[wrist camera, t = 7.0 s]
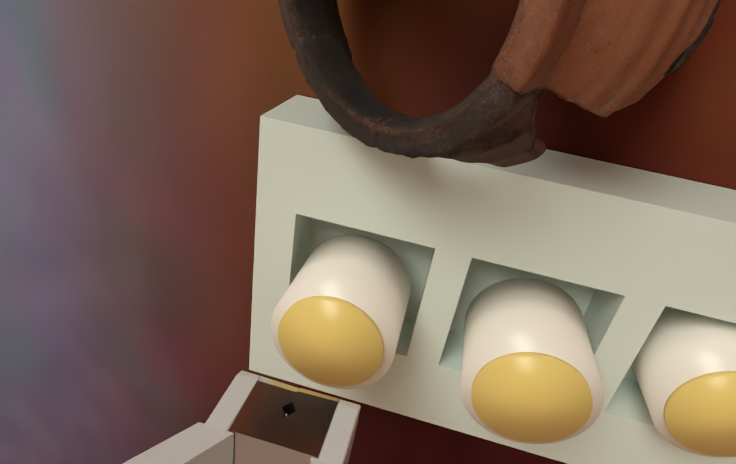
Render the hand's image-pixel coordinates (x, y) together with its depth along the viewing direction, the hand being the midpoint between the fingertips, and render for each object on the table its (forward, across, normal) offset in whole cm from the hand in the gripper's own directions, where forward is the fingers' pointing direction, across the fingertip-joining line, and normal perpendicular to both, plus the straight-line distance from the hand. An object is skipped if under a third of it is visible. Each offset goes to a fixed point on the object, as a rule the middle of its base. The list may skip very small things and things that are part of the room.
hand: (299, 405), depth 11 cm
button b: (+5, -6, 0) cm, 8 cm away
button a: (+7, -11, 0) cm, 13 cm away
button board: (+8, -6, 0) cm, 10 cm away
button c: (+5, 0, 0) cm, 5 cm away
